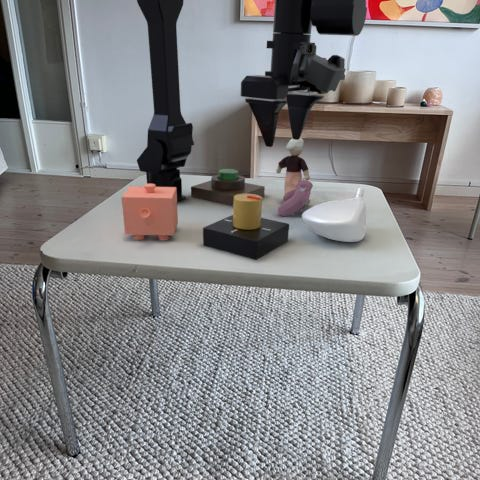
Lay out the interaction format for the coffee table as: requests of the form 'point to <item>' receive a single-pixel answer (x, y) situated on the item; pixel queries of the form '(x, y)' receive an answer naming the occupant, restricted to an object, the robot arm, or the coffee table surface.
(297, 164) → the grandmother figurine
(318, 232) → the golf club head
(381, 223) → the coffee table surface
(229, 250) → the panel
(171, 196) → the pink cube teapot
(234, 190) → the lamp base
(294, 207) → the pink rounded piece
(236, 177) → the lamp switch
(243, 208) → the dimmer knob
